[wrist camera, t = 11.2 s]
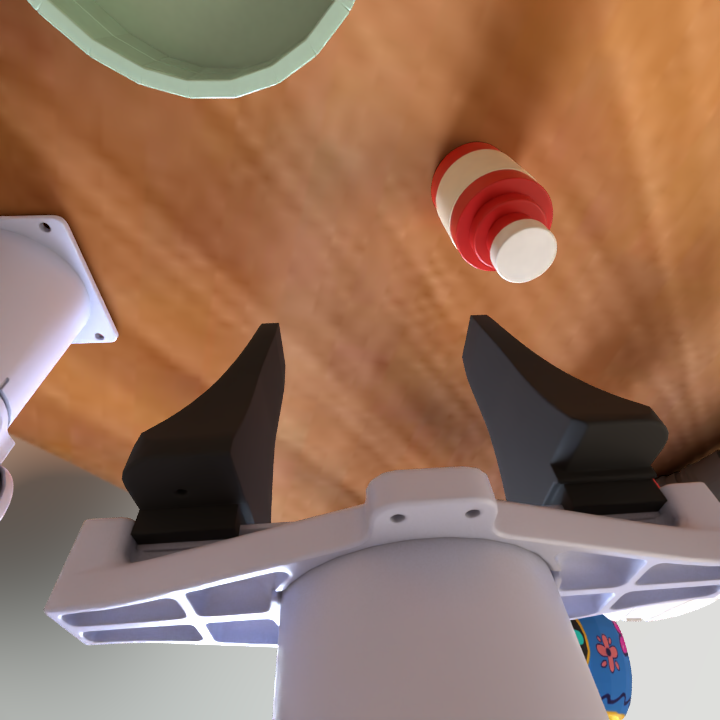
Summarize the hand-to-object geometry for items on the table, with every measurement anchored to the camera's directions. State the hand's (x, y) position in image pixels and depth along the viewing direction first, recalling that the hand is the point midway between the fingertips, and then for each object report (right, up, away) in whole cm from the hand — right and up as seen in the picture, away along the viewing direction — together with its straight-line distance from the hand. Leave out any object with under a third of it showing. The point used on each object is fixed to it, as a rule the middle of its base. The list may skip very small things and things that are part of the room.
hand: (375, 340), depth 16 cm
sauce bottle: (+5, +8, +6) cm, 12 cm away
